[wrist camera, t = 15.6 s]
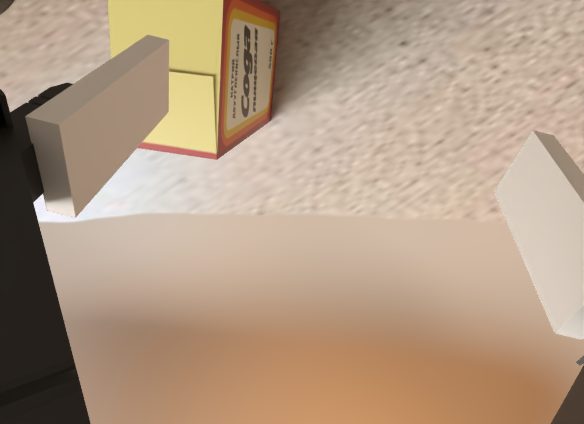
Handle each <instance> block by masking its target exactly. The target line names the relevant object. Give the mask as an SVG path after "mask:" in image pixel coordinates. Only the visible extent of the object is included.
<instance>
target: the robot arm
mask: <svg viewBox="0 0 584 424" xmlns="http://www.w3.org/2000/svg"><path fill="white" fill-rule="evenodd" d="M12 1H13V0H0V14H1V13H2V12H3V11H4V10H6V8H7V7H8V6H9V5H10V4H11V2H12ZM168 112H169V40H168V39H164V38H160V37H156V36H152V35H146V36H145V37H143V38H142V39H140V40H139V41H137V42H136V43H134V44H133V45H131V46H130V47H128V48H127V49H125V50H124V51H122V52H121V53H119V54H118V55H116V56H115V57H113V58H112V59H110V60H109V61H107V62H106V63H104V64H103V65H101V66H100V67H98V68H97V69H95V70H94V71H92V72H91V73H89V74H88V75H86V76H85V77H83V78H82V79H80V80H79V81H77V82H76V83H74V84H71V83H64V84H61V85H57V86H54V87H50V88H49V89H47V90H45V91H44V92H42V93H41V94H39V95H38V97H34V98H33V99H31V100H29V102H28V103H25V104H23V105H22V106H20V107H18V108H17V109H15V110H14V111H12V112H10V111H9V108H8V104H7V100H6V96H5V94H4V93H3V91H2V90H0V424H90V420H89V416H88V412H87V408H86V405H85V401H84V397H83V393H82V389H81V385H80V381H79V378H78V374H77V370H76V367H75V363H74V359H73V355H72V351H71V347H70V343H69V339H68V336H67V332H66V328H65V324H64V320H63V317H62V313H61V309H60V305H59V301H58V297H57V293H56V289H55V286H54V282H53V278H52V274H51V270H50V266H49V262H48V258H47V254H46V251H45V247H44V243H43V239H42V235H41V231H40V228H39V224H38V220H37V216H36V212H35V208H34V204H33V202H34V201H35V200H36V199H37V198H38V197H40V196H41V195H42V194H43V195H44V200H45V204H46V208H47V211H50V212H54V213H58V214H62V215H67V216H71V217H75V218H76V217H77V216H78V214H79V213H80V212H81V211H82V210H83V209H84V208H85V206H86V205H87V204H88V203H89V202H90V201H91V200H92V198H93V197H94V196H95V195H96V194H97V193H98V192H99V191H100V189H101V188H102V187H103V186H104V185H105V184H106V183H107V181H108V180H109V179H110V178H111V177H112V176H113V175H114V174H115V172H116V171H117V170H118V169H119V168H120V167H121V166H122V164H123V163H124V162H125V161H126V160H127V159H128V158H129V156H130V155H131V154H132V153H133V152H134V151H135V150H136V149H137V147H138V146H139V145H140V144H141V143H142V142H143V141H144V139H145V138H146V137H147V136H148V135H149V134H150V133H151V131H152V130H153V129H154V128H155V127H156V126H157V125H158V124H159V122H160V121H161V120H162V119H163V118H164V117H165V116H166V114H167V113H168ZM494 194H495V196H496V198H497V201H498V203H499V205H500V208H501V210H502V212H503V215H504V217H505V219H506V222H507V224H508V226H509V228H510V231H511V233H512V235H513V238H514V240H515V242H516V245H517V247H518V249H519V252H520V254H521V256H522V258H523V261H524V263H525V266H526V268H527V270H528V273H529V275H530V277H531V280H532V282H533V284H534V286H535V289H536V291H537V293H538V296H539V298H540V300H541V303H542V305H543V307H544V310H545V312H546V314H547V317H548V319H549V321H550V324H551V326H552V328H553V330H554V333H556V334H560V335H564V336H568V337H573V338H577V339H581V340H582V339H583V338H584V174H583V173H582V171H581V170H580V169H579V168H578V166H577V165H576V164H575V162H574V161H573V160H572V159H571V157H570V156H569V155H568V153H567V152H566V151H565V149H564V148H563V147H562V146H561V144H560V143H559V142H558V140H557V139H556V138H555V137H554V136H553V135H549V134H545V133H541V132H537V131H532V132H531V134H530V136H529V137H528V139H527V140H526V142H525V143H524V145H523V147H522V148H521V150H520V151H519V153H518V155H517V156H516V158H515V159H514V161H513V162H512V164H511V166H510V167H509V169H508V170H507V172H506V173H505V175H504V177H503V178H502V180H501V181H500V183H499V184H498V186H497V188H496V189H495V191H494ZM576 363H577V364H579V365H582V364H583V363H584V356H583V357H582V358H580V360H578V361H577V362H576ZM551 424H584V366H583V368H582V369H581V371H580V373H579V375H578V376H577V378H576V380H575V382H574V384H573V385H572V387H571V389H570V391H569V392H568V394H567V396H566V398H565V399H564V402H563V403H562V405H561V407H560V408H559V410H558V412H557V414H556V415H555V417H554V419H553V421H552V423H551Z"/></svg>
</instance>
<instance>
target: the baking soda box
mask: <svg viewBox="0 0 584 424" xmlns="http://www.w3.org/2000/svg"><path fill="white" fill-rule="evenodd" d="M108 11H109V30H110V49H111V59H112V58H113V57H115V56H116V55H118V54H119V53H121V52H122V51H124V50H125V49H127V48H128V47H130V46H131V45H133V44H134V43H136V42H137V41H139V40H140V39H142V38H143V37H145V36H146V35H152V36H156V37H160V38H164V39H168V40H169V112H168V113H167V114H166V116H165V117H164V118H163V119H162V120H161V121H160V122H159V124H158V125H157V126H156V127H155V128H154V129H153V130H152V131H151V133H150V134H149V135H148V136H147V137H146V138H145V139H144V141H143V142H142V143H141V144H140V145H139V146H138V147H137V148H142V149H149V150H155V151H162V152H169V153H176V154H182V155H189V156H196V157H202V158H209V159H216V160H217V159H218V158H220V157H221V156H223V155H224V154H225V153H227V152H228V151H229V150H231V149H232V148H234V147H235V146H236V145H238V144H239V143H241V142H242V141H243V140H245V139H246V138H247V137H249V136H250V135H252V134H253V133H254V132H256V131H257V130H259V129H260V128H261V127H263V126H264V125H265V124H267V123H268V122H270V119H271V107H272V96H273V84H274V73H275V61H276V50H277V38H278V27H279V15H280V11H279V10H277V9H275V8H273V7H271V6H269V5H267V4H265V3H263V2H261V1H259V0H108Z"/></svg>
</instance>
